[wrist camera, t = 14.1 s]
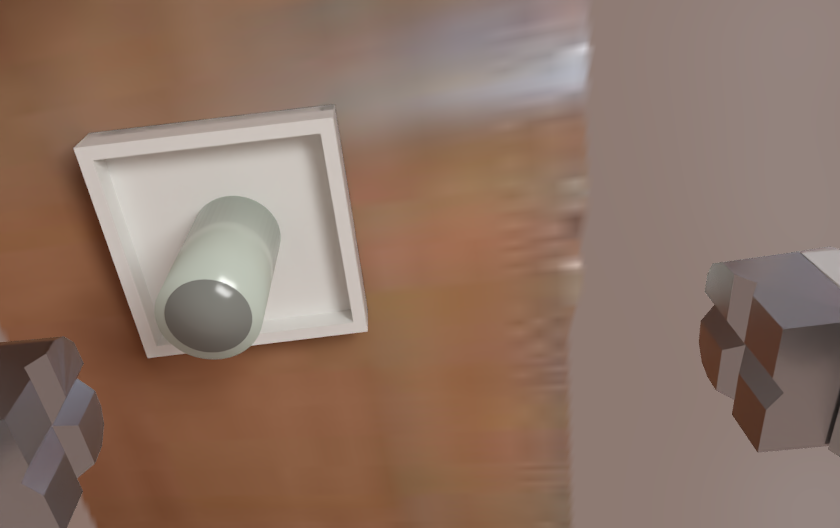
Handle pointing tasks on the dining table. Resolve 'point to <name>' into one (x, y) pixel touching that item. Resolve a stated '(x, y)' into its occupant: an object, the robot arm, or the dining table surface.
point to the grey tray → (233, 176)
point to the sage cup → (220, 280)
